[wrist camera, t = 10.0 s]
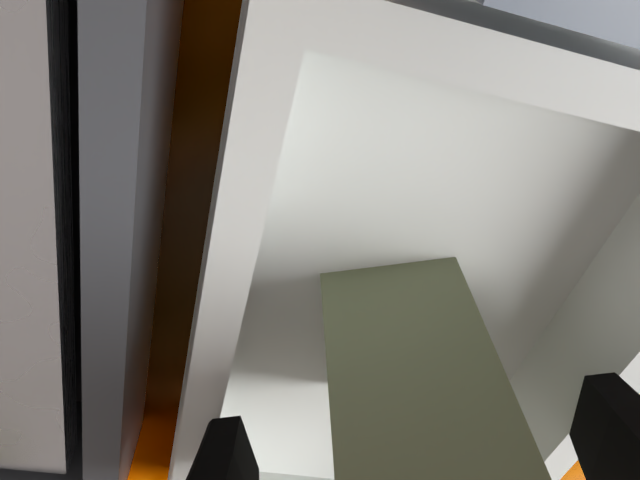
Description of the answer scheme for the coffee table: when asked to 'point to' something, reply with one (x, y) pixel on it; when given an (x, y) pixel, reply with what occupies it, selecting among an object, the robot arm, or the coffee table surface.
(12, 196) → the grey rectangular panel
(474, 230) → the board
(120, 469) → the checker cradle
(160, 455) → the coffee table surface
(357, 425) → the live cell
